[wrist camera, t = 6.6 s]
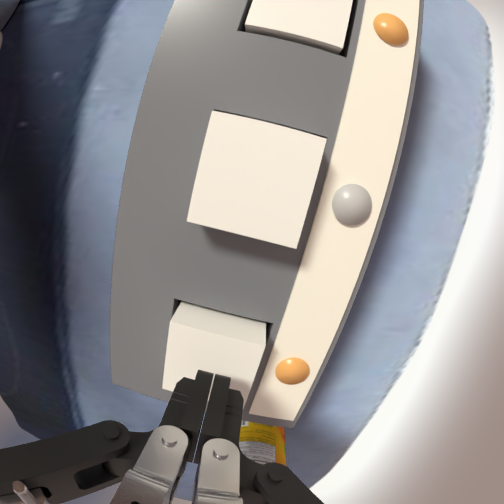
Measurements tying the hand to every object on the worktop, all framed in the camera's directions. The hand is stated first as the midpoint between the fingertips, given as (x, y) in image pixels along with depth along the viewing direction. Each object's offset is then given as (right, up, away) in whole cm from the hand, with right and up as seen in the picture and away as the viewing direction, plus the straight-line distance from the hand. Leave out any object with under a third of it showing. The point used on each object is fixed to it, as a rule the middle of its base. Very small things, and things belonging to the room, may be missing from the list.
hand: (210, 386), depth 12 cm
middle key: (+2, +9, +1) cm, 10 cm away
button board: (+2, +11, +5) cm, 12 cm away
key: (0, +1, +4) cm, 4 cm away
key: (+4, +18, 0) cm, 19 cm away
